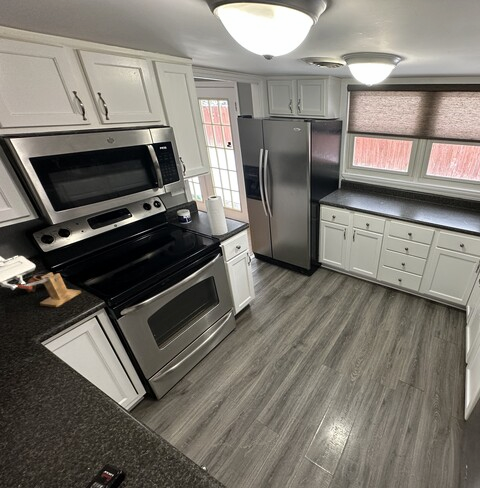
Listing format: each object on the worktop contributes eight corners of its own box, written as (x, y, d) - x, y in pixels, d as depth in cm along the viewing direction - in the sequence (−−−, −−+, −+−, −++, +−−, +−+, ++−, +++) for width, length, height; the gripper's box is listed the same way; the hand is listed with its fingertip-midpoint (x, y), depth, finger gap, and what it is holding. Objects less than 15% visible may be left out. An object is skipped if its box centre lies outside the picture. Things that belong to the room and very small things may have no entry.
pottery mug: (33, 285, 141) (39, 271, 140) (54, 291, 144) (59, 277, 143) (13, 293, 129) (19, 278, 129) (36, 299, 132) (42, 285, 132)
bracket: (56, 307, 125) (44, 283, 119) (40, 305, 126) (27, 281, 120) (81, 292, 136) (71, 269, 130) (66, 290, 137) (55, 267, 131)
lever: (29, 291, 115) (28, 285, 114) (13, 289, 115) (12, 283, 115) (62, 280, 127) (61, 275, 127) (48, 278, 128) (47, 274, 128)
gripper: (18, 257, 123) (44, 277, 126) (-44, 281, 105) (-12, 304, 108) (21, 250, 121) (48, 271, 124) (-42, 273, 103) (-9, 296, 105)
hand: (19, 286), depth 116 cm, fingers closed on lever
